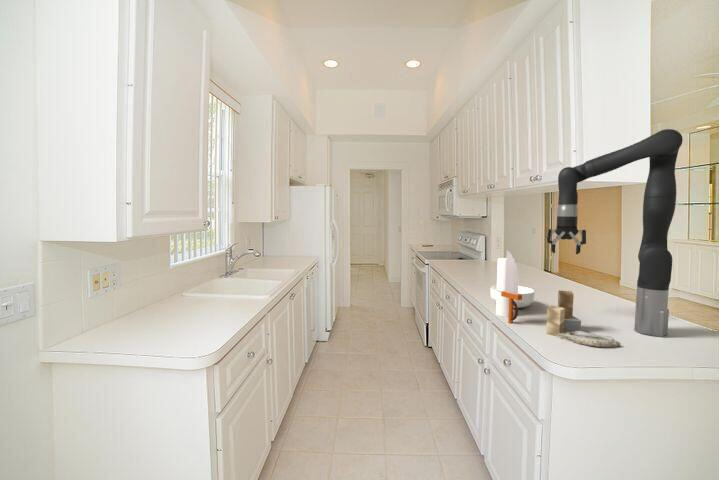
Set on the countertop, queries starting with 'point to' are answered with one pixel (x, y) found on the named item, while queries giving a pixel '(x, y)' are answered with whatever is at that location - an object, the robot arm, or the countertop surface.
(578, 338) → the fossil
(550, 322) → the oak block
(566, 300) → the walnut block
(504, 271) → the cylindrical container
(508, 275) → the knife
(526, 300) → the bowl
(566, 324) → the base block
